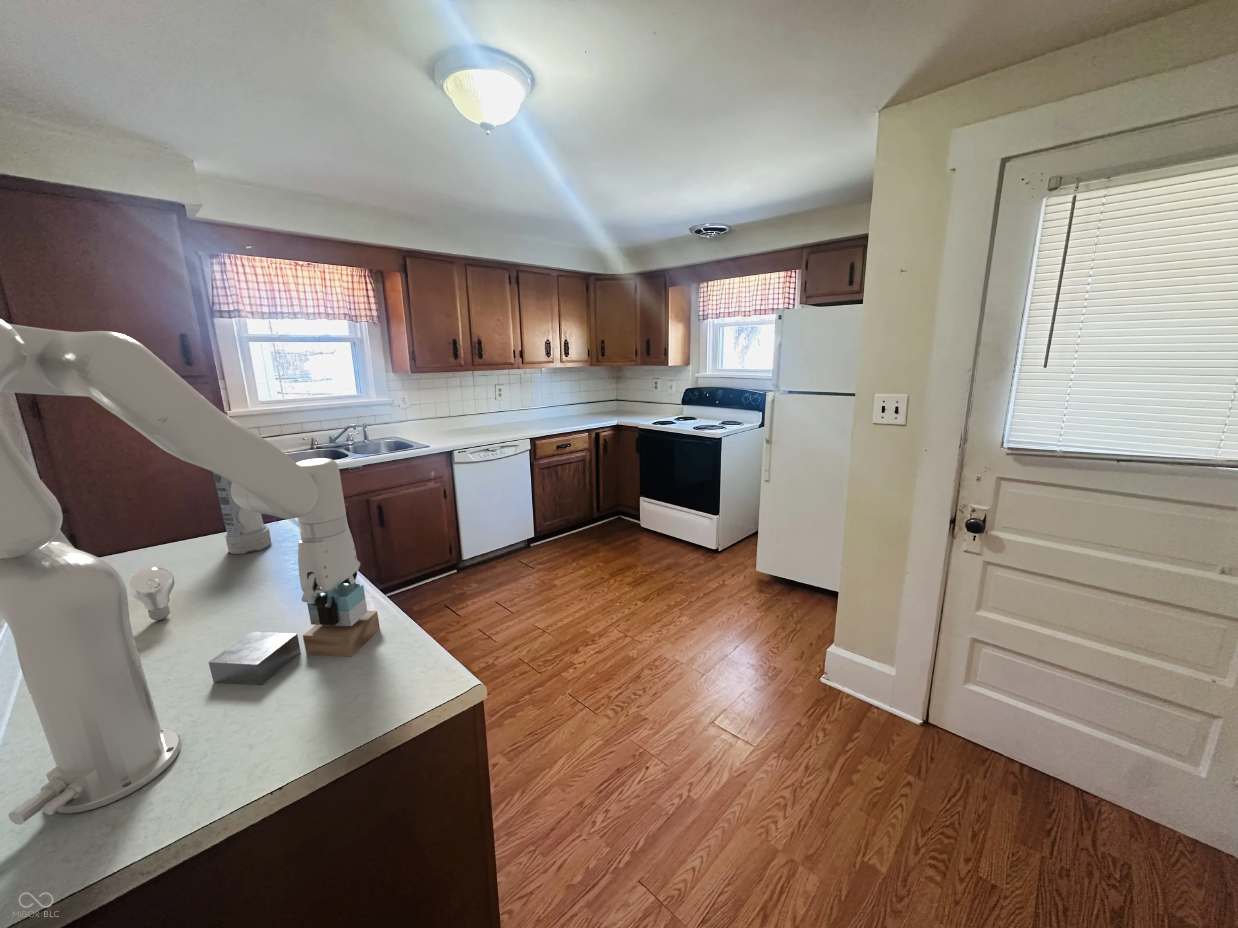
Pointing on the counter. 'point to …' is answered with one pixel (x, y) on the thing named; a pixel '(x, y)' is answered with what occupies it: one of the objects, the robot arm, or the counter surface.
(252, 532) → the canister
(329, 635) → the stand
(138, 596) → the light bulb
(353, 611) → the teal and grey block
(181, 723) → the counter surface
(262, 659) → the stand
